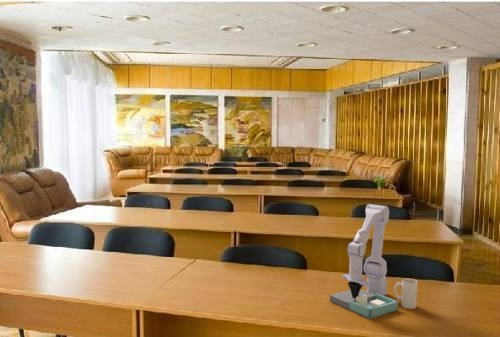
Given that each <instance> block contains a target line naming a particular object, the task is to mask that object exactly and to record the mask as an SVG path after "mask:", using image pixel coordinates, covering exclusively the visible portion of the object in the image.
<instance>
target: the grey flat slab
mask: <svg viewBox="0 0 500 337" xmlns="http://www.w3.org/2000/svg"><path fill="white" fill-rule="evenodd" d="M366 291H367V290H365V289H362V288H361V289H360V292H359V295H358V296H361V295H366V296H367V303H368V302H370V301H373V300H375V295H374V294H371V293H369V292H366ZM349 301H353V302H355V303H356V299H354V298H352V293H351V290H350V289H349V290H346V291H345V290H344V291H341V292H337V293H333V294H330V295H329V302H330V303H333V304H335V305H337V306H340V307H342V308H344V309H346V310H348V311H350V310H349Z"/></svg>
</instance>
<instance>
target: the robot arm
mask: <svg viewBox="0 0 500 337" xmlns="http://www.w3.org/2000/svg"><path fill="white" fill-rule="evenodd" d="M389 217H390V209H389V207H388V206H387V205H379V204H371V203H368V204H367V205H366V206H365V219H364V222H363V224H362V226H361V228H360V229H358V230H357V232H356V234H355V236H354V238H353V241H351V242H349V243H348V245H347V250H346V251H347V254H348V259H349V266H348V267H349V271H348V274H347V273H344V274H342V279H343V280H346V281H348V282H347V286H348V287H349V290H351V293H352V298H354V299H356V297H358V295H359V292H360V289H361V290H362V288H363V286H364V288H366V290H365V291H366V292H369V293H371V294H374V295H375V294H376V293H377V294H380V295H382V296H386V295H389V292H388V280H387V277H386V275H387V272H388V268H387V261H386V260H385V259H384V258H383V257H382V255H383V247H384V236H385V228H386V224H387V223H389V219H390V218H389ZM373 226H374V228H373ZM372 228H373V233H372V234H373V235H372V244H371V253H370V256H368V257H367V258H366V259H365V262H364V265H363V261H364V260H363V256H364V255H365V252H366V248H367V243H368V241H369V238H370V235H371V234H370V231H371V229H372ZM363 272H364V274H365V276H366V277H367V278H366V279H367V280H366V279H364V278H363Z"/></svg>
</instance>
